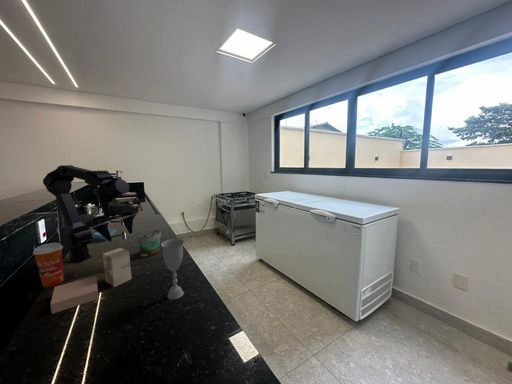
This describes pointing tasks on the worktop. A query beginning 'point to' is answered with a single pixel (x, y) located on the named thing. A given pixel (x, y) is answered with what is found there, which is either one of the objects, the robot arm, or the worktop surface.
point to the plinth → (74, 294)
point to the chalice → (173, 263)
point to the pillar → (117, 266)
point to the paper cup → (49, 263)
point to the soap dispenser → (98, 235)
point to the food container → (150, 244)
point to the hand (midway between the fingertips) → (121, 237)
